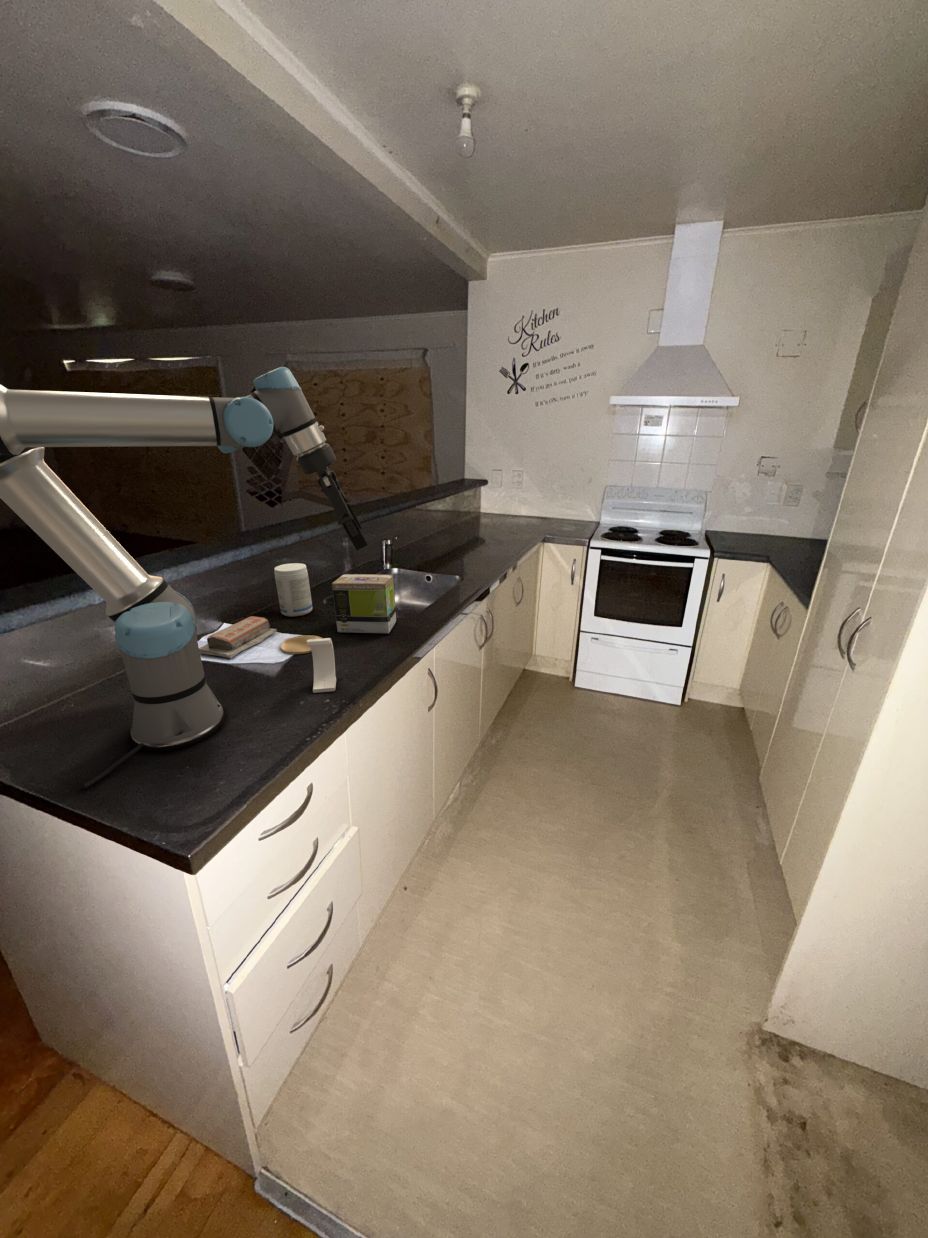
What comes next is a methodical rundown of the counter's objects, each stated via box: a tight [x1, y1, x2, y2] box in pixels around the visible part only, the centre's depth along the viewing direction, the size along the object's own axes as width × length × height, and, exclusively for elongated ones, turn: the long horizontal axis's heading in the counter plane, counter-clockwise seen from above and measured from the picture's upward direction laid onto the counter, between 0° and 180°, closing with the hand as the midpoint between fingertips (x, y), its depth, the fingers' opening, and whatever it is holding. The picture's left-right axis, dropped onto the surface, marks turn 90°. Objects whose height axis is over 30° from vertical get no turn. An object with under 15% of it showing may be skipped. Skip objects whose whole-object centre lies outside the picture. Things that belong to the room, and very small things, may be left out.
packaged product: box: [199, 615, 278, 659], centre depth 128 cm, size 18×5×10 cm
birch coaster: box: [280, 634, 324, 655], centre depth 128 cm, size 11×11×1 cm
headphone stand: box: [307, 637, 337, 694], centre depth 105 cm, size 5×6×12 cm
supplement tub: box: [273, 562, 314, 618], centre depth 149 cm, size 10×10×15 cm
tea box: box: [331, 573, 397, 634], centre depth 137 cm, size 15×10×15 cm, turn 84°
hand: (359, 538), depth 111 cm, fingers open, 13 cm apart
